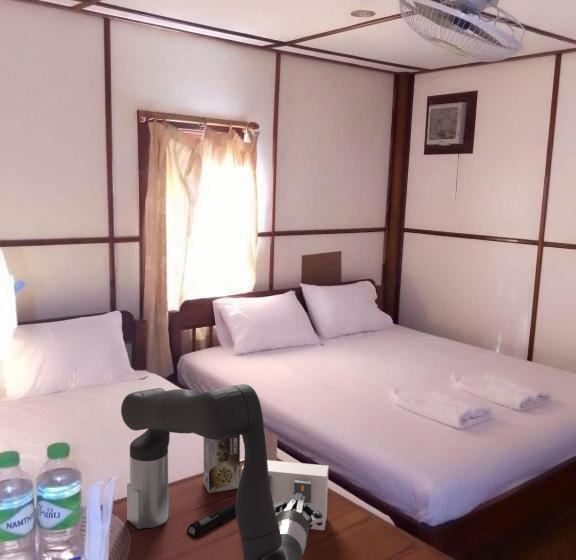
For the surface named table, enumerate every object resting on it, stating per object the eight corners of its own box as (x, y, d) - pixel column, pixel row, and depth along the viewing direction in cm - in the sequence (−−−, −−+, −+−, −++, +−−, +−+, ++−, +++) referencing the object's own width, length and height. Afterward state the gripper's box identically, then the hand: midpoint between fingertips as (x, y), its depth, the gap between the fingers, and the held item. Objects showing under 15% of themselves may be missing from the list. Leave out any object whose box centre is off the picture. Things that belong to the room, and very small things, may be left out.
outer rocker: (294, 502, 148) (294, 482, 146) (294, 500, 149) (294, 480, 147) (310, 504, 147) (310, 484, 145) (311, 501, 148) (311, 481, 146)
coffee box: (233, 478, 175) (234, 424, 172) (240, 488, 169) (241, 433, 167) (202, 483, 171) (203, 428, 169) (208, 493, 166) (208, 437, 163)
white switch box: (240, 522, 152) (241, 469, 150) (245, 509, 158) (246, 458, 156) (324, 531, 149) (326, 477, 147) (326, 517, 155) (328, 465, 153)
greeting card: (243, 474, 178) (244, 425, 175) (268, 471, 179) (269, 423, 177) (251, 492, 167) (252, 440, 164) (277, 490, 168) (279, 438, 166)
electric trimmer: (242, 516, 155) (242, 504, 155) (195, 540, 144) (195, 527, 143) (232, 511, 158) (232, 499, 157) (185, 533, 146) (185, 521, 146)
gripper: (321, 523, 120) (328, 483, 137) (255, 517, 122) (271, 478, 139) (320, 559, 121) (327, 515, 138) (255, 552, 123) (270, 509, 140)
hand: (299, 497), depth 139 cm, fingers closed
